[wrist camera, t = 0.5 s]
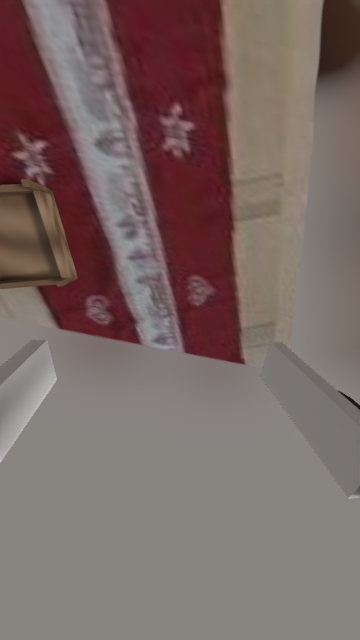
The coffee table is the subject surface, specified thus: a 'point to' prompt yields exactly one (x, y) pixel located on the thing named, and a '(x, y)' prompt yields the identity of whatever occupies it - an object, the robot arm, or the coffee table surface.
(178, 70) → the coffee table surface
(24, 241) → the box
